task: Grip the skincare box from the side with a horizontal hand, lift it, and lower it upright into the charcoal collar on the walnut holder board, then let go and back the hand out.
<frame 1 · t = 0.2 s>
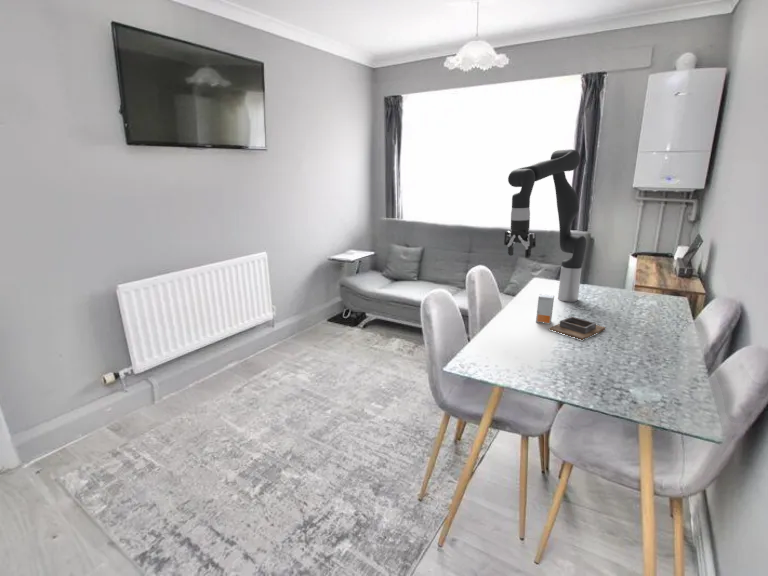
hand: (519, 256, 170), 28 cm above the table, tool pointing down, fingers open, 8 cm apart
holder: (576, 330, 163), on the table
skincare box: (543, 322, 173), on the table
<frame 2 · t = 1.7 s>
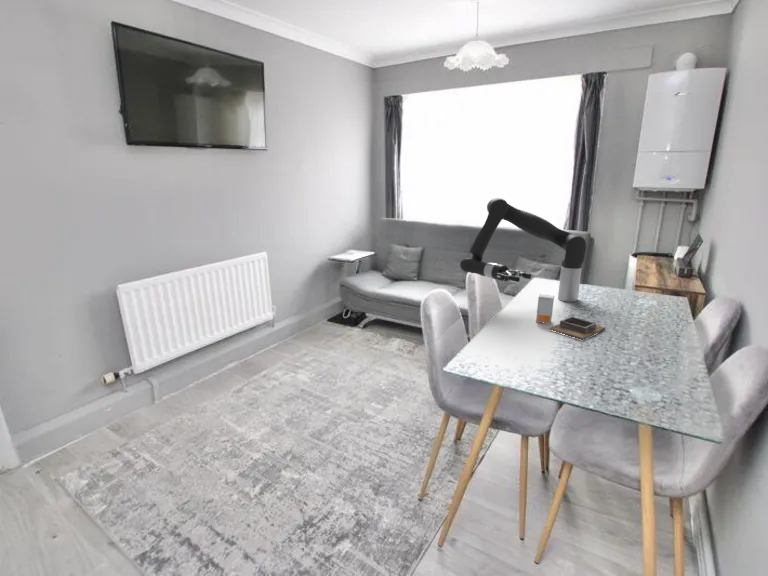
hand: (525, 278, 177), 18 cm above the table, tool horizontal, fingers open, 8 cm apart
nothing on the table moved.
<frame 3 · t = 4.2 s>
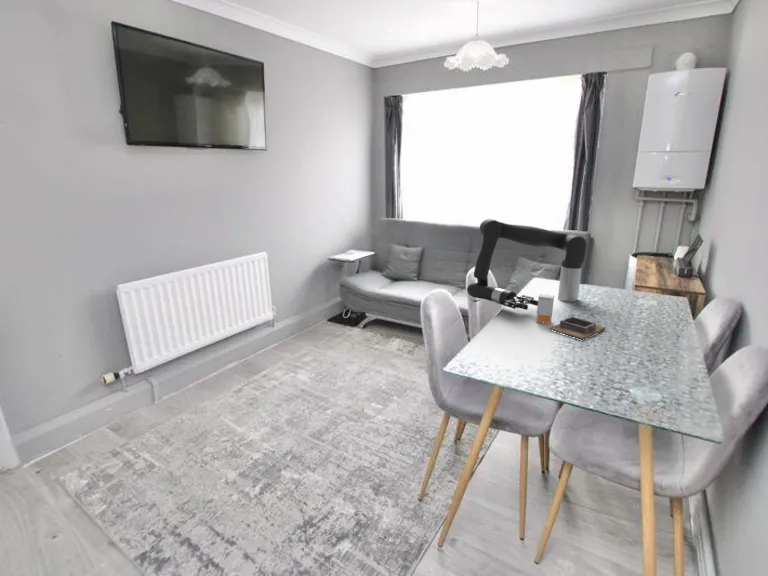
hand: (533, 305, 176), 6 cm above the table, tool horizontal, fingers open, 8 cm apart
nothing on the table moved.
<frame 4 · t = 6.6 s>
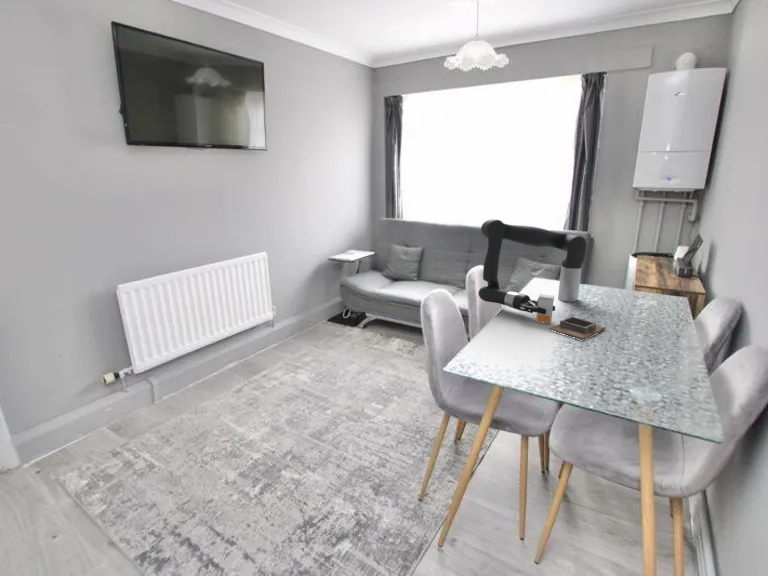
hand: (550, 310, 169), 6 cm above the table, tool horizontal, fingers closed on skincare box, 6 cm apart
skincare box: (543, 322, 173), on the table, touching gripper
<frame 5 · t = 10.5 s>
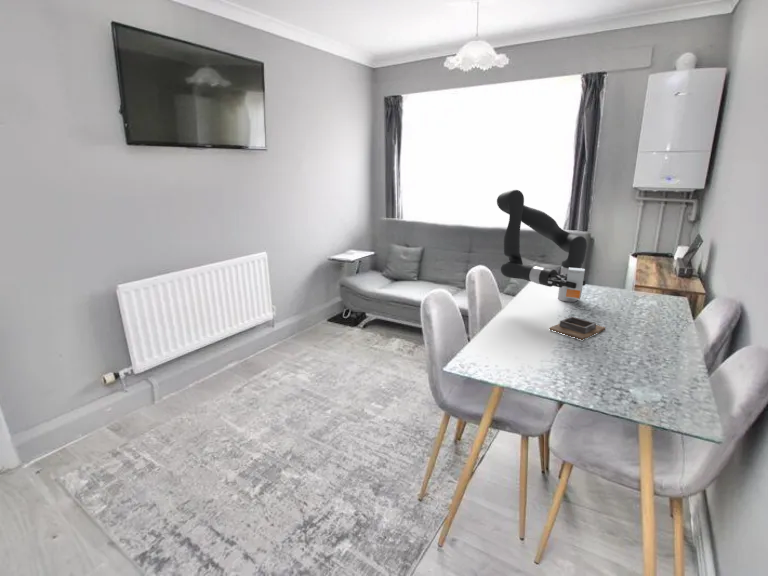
hand: (580, 284, 158), 20 cm above the table, tool horizontal, fingers closed on skincare box, 6 cm apart
skincare box: (572, 297, 161), point 13 cm above the table, touching gripper
when the fingers open (9 cm above the table, at t = 14.7 s): skincare box drops 1 cm, resting on holder.
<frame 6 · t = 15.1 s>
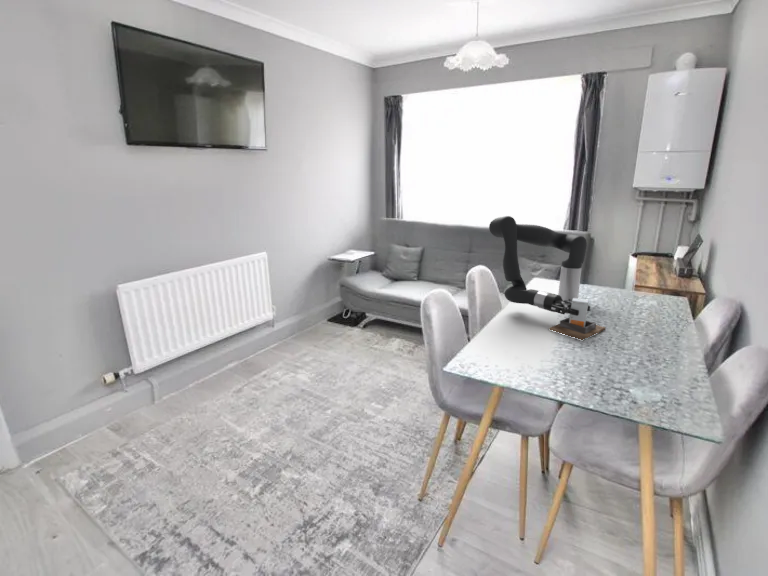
hand: (584, 310, 159), 9 cm above the table, tool horizontal, fingers open, 8 cm apart
skincare box: (576, 328, 163), point 1 cm above the table, touching holder
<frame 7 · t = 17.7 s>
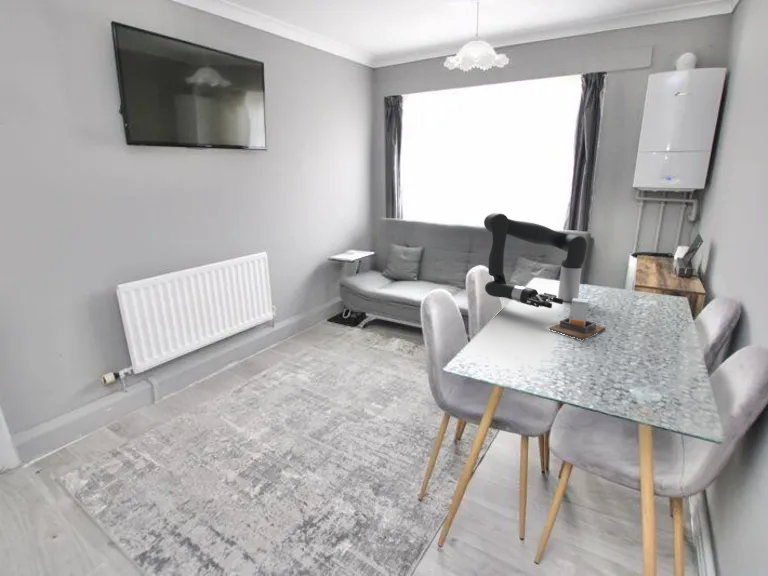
hand: (557, 303, 168), 9 cm above the table, tool horizontal, fingers open, 8 cm apart
nothing on the table moved.
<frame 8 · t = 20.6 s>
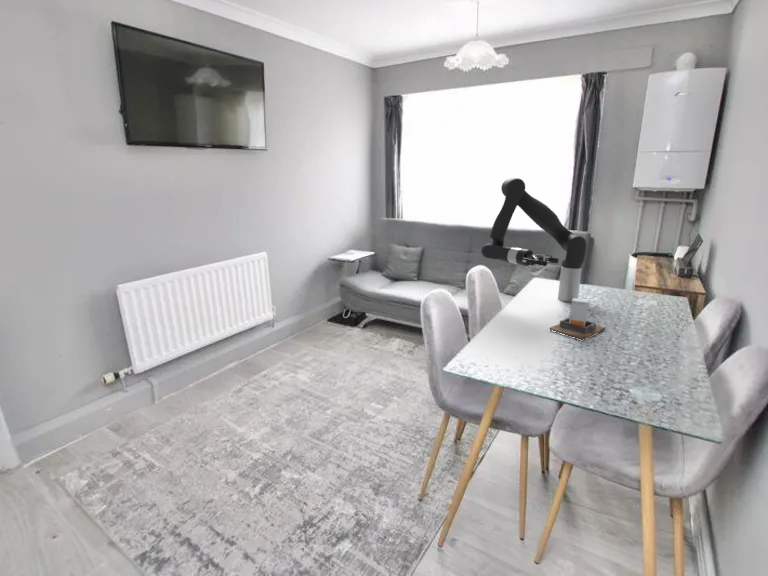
hand: (552, 262, 169), 26 cm above the table, tool horizontal, fingers open, 8 cm apart
nothing on the table moved.
at the end: skincare box 0.2 cm off-centre on the holder, point 1.0 cm above the holder's base; skincare box tilted 0°; the gripper is holding nothing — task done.
